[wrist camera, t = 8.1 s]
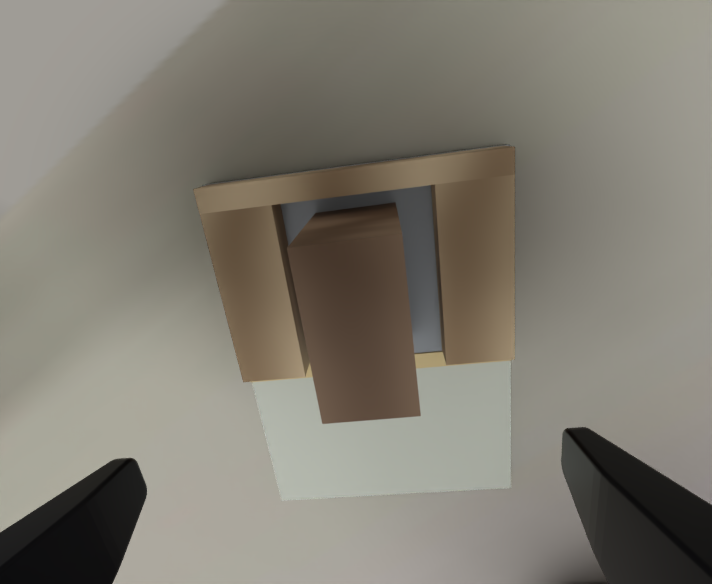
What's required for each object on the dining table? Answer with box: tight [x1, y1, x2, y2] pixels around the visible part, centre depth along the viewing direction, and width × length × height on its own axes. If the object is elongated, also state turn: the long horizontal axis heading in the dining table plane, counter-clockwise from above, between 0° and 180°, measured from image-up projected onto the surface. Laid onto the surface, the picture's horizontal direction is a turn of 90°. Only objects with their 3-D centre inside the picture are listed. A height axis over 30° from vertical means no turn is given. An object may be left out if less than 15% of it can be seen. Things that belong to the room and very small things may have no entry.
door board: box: [203, 144, 511, 501], centre depth 21 cm, size 13×18×1 cm
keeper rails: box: [193, 146, 515, 382], centre depth 18 cm, size 12×9×2 cm
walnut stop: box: [287, 202, 421, 424], centre depth 16 cm, size 4×6×6 cm, turn 8°
